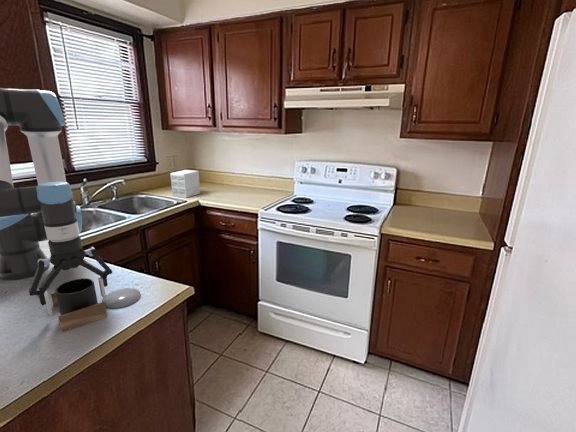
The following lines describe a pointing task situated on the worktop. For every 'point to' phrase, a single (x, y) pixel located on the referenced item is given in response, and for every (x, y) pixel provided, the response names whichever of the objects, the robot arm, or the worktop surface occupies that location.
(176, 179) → the supplement box
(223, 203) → the worktop surface
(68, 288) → the mug
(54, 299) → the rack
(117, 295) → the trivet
